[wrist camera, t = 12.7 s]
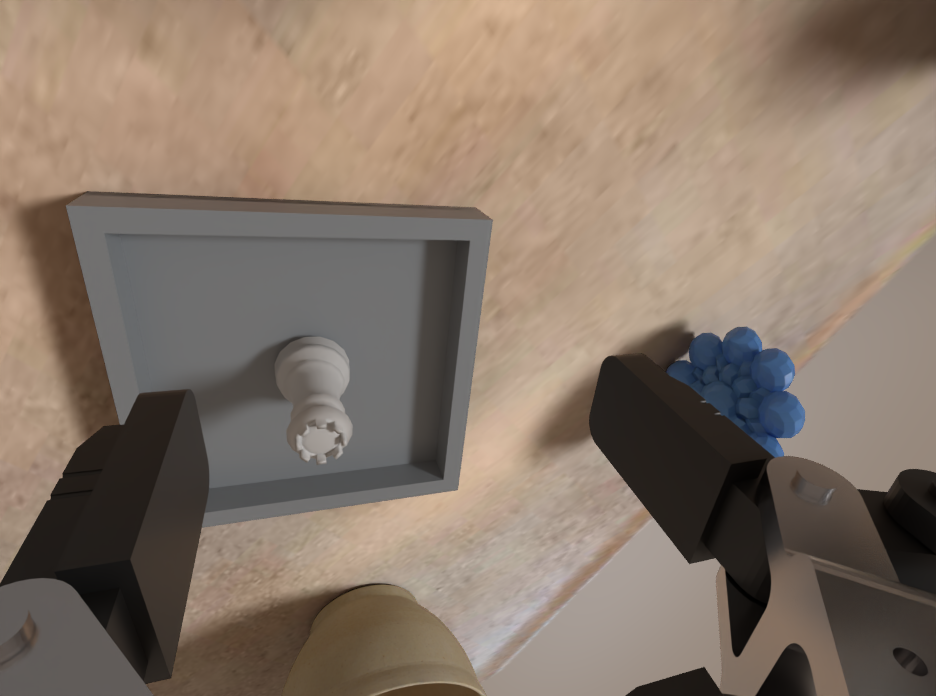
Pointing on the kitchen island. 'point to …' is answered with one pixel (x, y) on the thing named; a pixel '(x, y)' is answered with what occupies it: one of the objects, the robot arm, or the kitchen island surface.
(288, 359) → the rook chess piece
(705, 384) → the grapes
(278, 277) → the tray
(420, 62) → the kitchen island surface
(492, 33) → the kitchen island surface
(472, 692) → the planter bowl
